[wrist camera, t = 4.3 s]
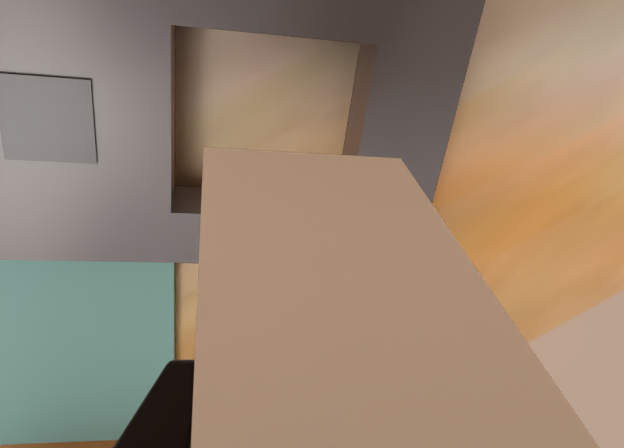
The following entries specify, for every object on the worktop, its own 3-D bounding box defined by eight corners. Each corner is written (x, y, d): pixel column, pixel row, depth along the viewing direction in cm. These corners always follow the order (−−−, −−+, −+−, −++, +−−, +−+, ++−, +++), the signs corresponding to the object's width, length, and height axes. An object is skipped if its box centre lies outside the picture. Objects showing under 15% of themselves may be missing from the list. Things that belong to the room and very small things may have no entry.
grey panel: (400, 238, 23) (418, 272, 21) (-91, 225, 19) (-127, 265, 17) (463, -25, 18) (495, -14, 16) (-183, -106, 14) (-249, -106, 12)
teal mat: (174, 428, 26) (173, 437, 26) (-58, 437, 25) (-63, 447, 24) (174, 254, 22) (173, 262, 21) (-116, 249, 20) (-124, 257, 19)
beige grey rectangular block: (368, 310, 13) (567, 859, 6) (196, 310, 13) (169, 943, 5) (403, 156, 11) (777, 689, 4) (201, 144, 11) (166, 788, 3)
